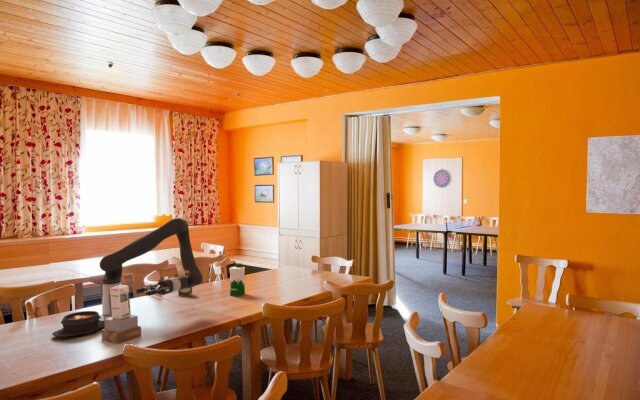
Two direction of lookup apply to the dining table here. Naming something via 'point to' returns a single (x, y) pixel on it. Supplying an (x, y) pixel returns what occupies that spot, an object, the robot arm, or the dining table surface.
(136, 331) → the walnut base block
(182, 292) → the food container
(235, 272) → the milk carton
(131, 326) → the white square block
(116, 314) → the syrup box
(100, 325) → the casserole
